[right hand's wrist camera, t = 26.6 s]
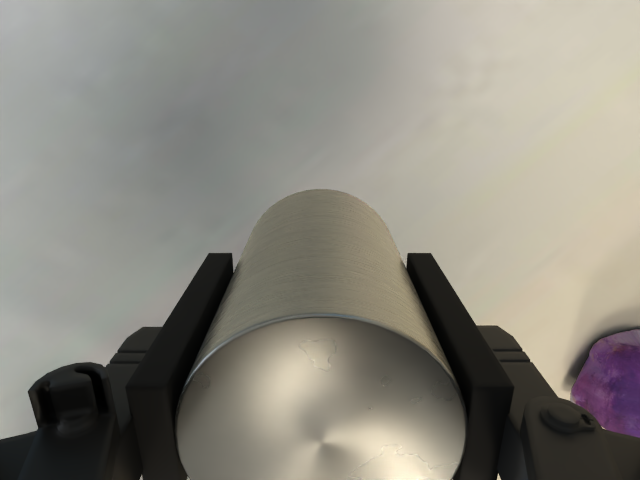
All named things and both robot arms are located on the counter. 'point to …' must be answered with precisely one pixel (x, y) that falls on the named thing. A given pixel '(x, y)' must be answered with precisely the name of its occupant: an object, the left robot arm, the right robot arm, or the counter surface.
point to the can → (321, 359)
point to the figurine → (612, 383)
